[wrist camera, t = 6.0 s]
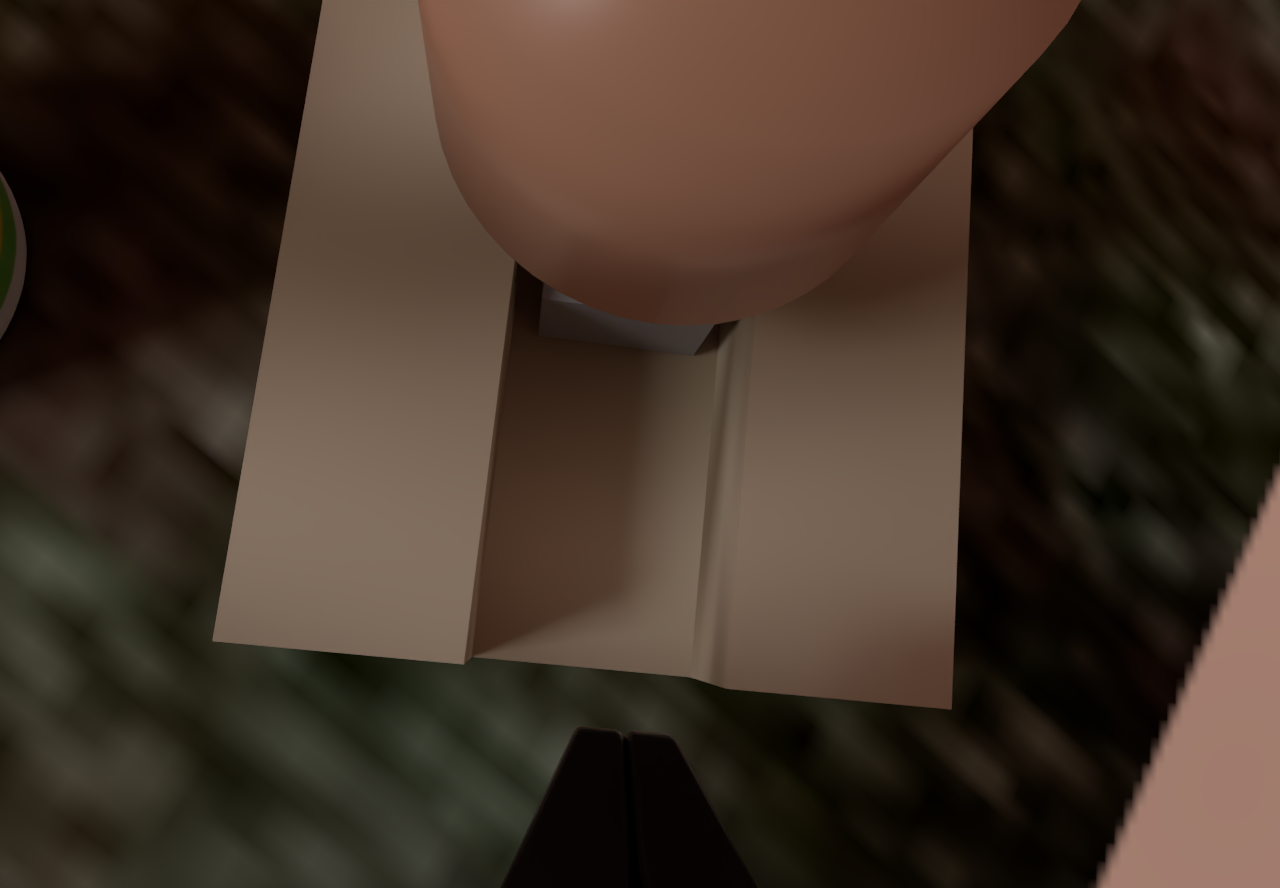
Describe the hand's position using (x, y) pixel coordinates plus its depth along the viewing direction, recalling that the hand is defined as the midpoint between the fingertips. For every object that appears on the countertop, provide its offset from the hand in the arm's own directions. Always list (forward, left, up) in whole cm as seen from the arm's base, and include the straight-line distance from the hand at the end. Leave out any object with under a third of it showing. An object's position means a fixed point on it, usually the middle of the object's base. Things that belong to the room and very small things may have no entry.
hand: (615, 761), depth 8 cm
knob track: (+5, -1, -8) cm, 9 cm away
